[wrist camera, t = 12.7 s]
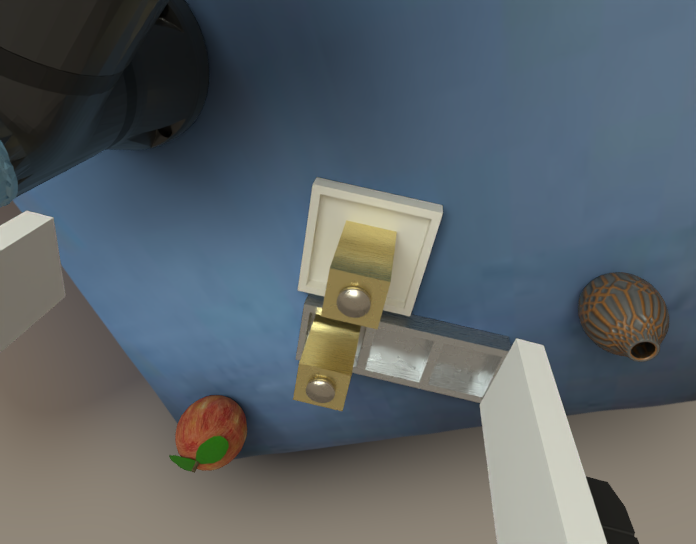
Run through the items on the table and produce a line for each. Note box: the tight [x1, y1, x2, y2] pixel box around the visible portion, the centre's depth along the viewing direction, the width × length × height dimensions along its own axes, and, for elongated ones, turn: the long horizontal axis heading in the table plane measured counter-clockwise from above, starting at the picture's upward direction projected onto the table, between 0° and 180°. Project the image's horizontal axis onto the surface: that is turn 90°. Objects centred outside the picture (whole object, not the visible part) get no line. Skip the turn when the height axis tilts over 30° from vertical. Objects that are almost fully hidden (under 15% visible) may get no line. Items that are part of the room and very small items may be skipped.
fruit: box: [169, 395, 247, 472], centre depth 58 cm, size 9×10×10 cm
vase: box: [578, 272, 669, 362], centre depth 42 cm, size 7×7×9 cm
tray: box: [298, 177, 443, 316], centre depth 46 cm, size 12×12×2 cm
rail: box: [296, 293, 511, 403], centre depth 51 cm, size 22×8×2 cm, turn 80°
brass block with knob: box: [293, 314, 361, 411], centre depth 48 cm, size 5×5×10 cm
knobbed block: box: [321, 220, 397, 330], centre depth 42 cm, size 5×5×10 cm
